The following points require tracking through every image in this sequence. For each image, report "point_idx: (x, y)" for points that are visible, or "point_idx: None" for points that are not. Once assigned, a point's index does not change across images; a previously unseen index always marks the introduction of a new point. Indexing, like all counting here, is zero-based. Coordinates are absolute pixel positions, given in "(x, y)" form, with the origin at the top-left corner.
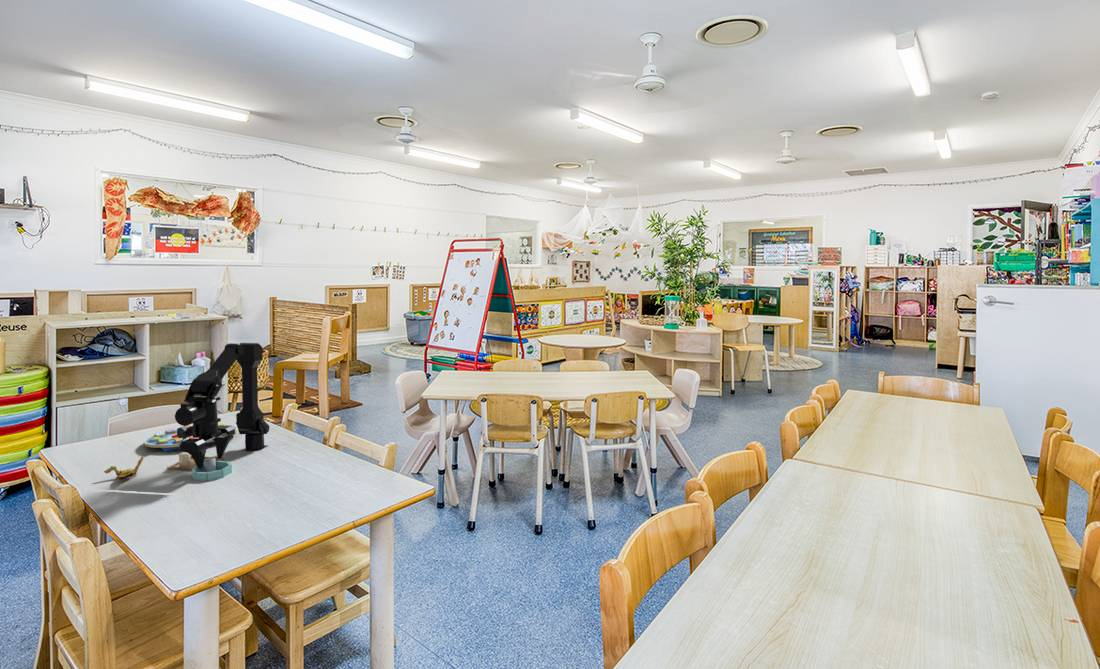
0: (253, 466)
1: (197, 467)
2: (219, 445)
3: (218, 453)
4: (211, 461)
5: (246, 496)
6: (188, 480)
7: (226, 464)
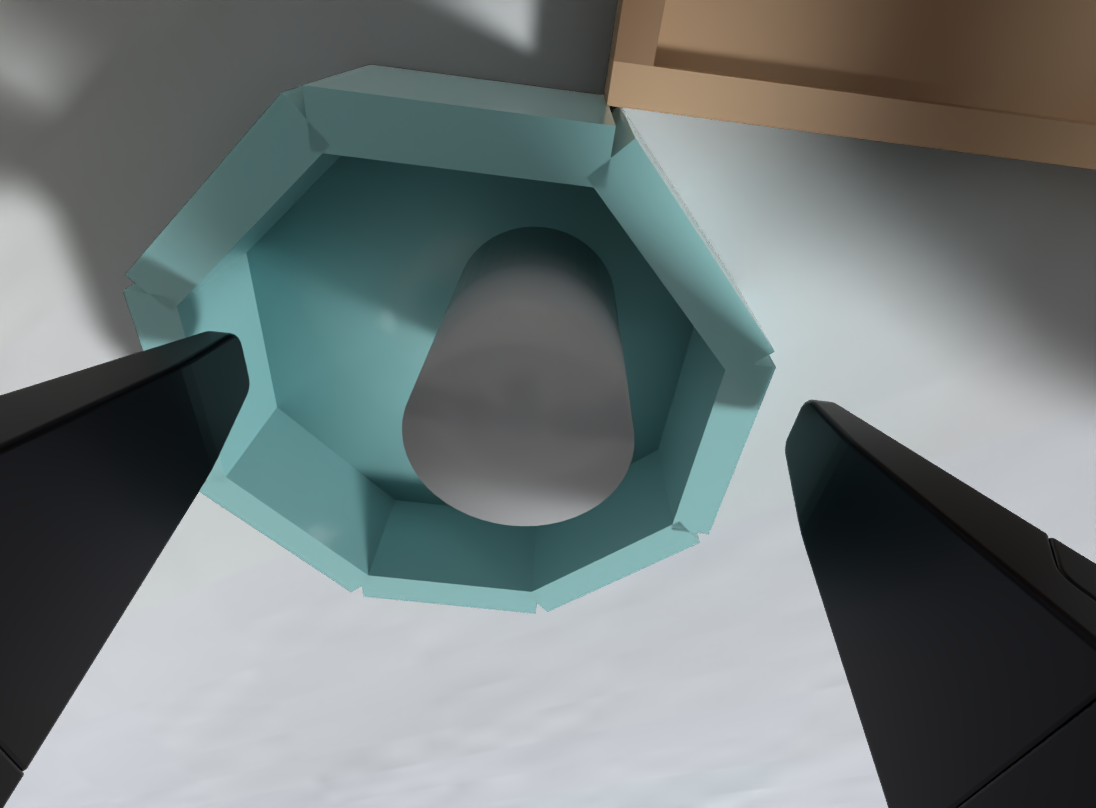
0: (772, 601)
1: (417, 162)
2: (973, 695)
3: (844, 488)
4: (450, 487)
5: (141, 730)
6: (233, 78)
7: (670, 494)
